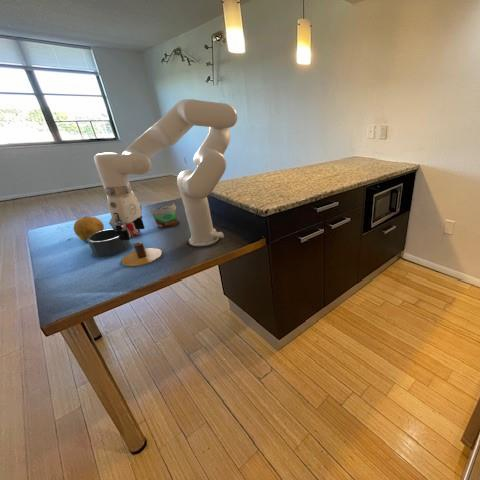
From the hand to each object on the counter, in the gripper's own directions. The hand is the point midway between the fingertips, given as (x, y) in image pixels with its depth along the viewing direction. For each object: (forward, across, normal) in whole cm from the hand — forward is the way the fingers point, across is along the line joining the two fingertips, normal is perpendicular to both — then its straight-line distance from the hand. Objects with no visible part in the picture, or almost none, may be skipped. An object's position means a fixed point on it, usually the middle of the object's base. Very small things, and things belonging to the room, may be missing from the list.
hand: (133, 234), depth 99 cm
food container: (+11, +33, +4) cm, 35 cm away
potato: (+12, +20, +32) cm, 40 cm away
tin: (+11, +7, +16) cm, 21 cm away
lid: (+10, 0, 0) cm, 10 cm away
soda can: (+11, +21, +16) cm, 29 cm away
